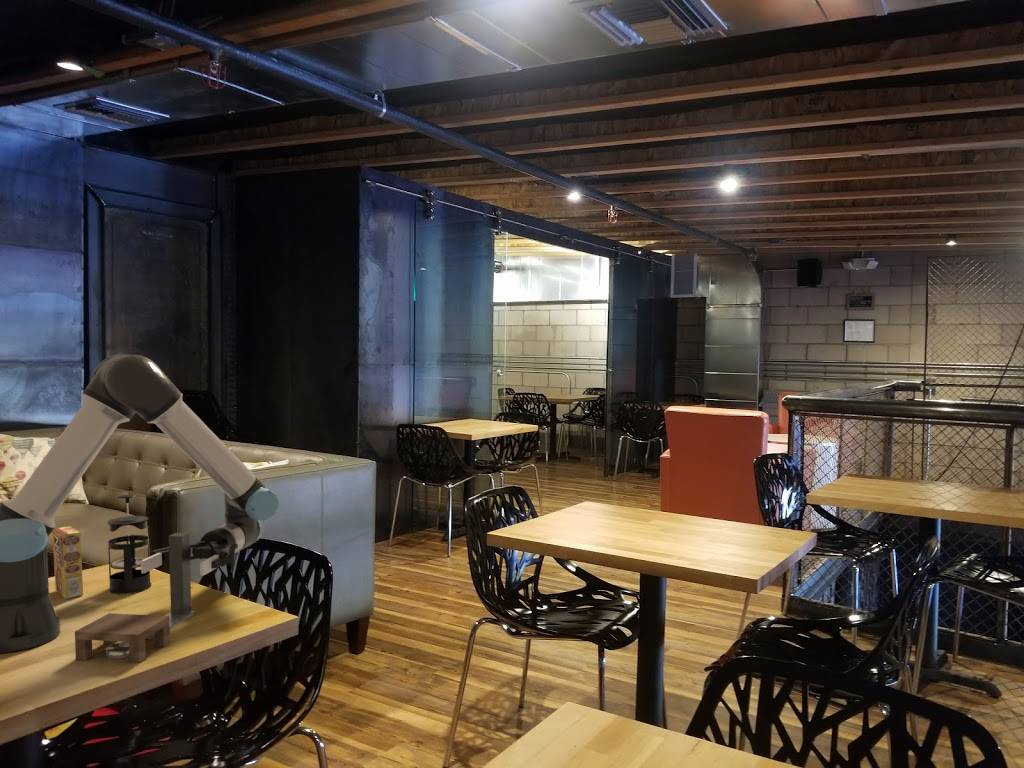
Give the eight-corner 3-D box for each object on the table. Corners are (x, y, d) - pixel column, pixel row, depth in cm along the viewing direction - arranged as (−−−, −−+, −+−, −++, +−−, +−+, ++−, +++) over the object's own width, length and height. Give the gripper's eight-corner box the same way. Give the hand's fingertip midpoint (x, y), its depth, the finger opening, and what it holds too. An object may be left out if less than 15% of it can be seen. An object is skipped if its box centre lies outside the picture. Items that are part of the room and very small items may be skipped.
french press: (150, 592, 188) (147, 497, 187) (106, 597, 185) (103, 500, 184) (152, 578, 199) (149, 488, 198) (111, 582, 196) (108, 491, 194)
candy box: (84, 595, 186) (81, 531, 185) (64, 599, 183) (61, 534, 182) (73, 587, 192) (70, 525, 192) (53, 591, 189) (51, 528, 189)
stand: (75, 660, 148) (74, 631, 148) (110, 640, 158) (109, 613, 158) (139, 663, 146) (138, 634, 146) (169, 643, 156) (169, 616, 156)
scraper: (130, 638, 159) (127, 550, 158) (172, 612, 174) (170, 532, 173) (158, 639, 158) (155, 551, 157) (197, 613, 173) (195, 533, 172)
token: (101, 659, 149) (101, 651, 149) (114, 649, 154) (114, 641, 154) (127, 659, 149) (127, 652, 149) (140, 649, 154) (140, 642, 154)
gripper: (271, 560, 188) (227, 587, 167) (174, 556, 191) (118, 583, 170) (270, 529, 187) (226, 552, 166) (173, 526, 191) (117, 549, 170)
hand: (171, 568), depth 168 cm, fingers open, 13 cm apart
